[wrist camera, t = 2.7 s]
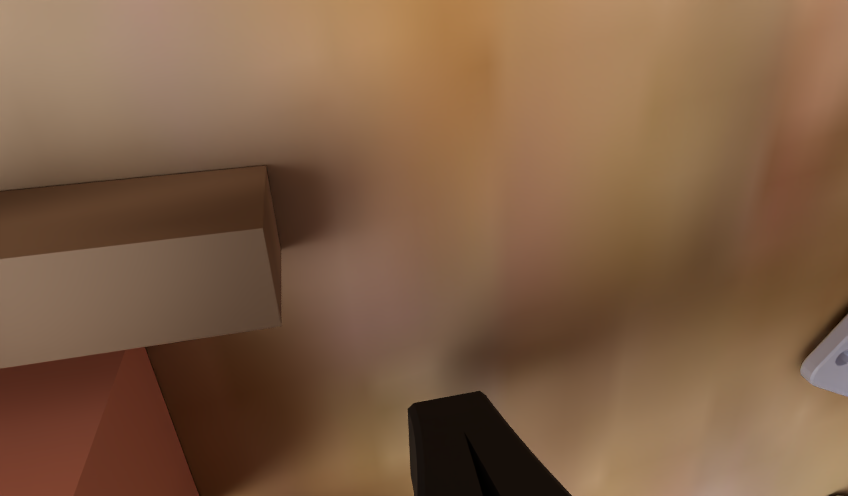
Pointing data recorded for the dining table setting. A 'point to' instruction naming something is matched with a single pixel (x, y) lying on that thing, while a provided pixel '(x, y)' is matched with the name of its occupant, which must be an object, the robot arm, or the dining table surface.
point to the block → (89, 430)
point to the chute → (136, 263)
